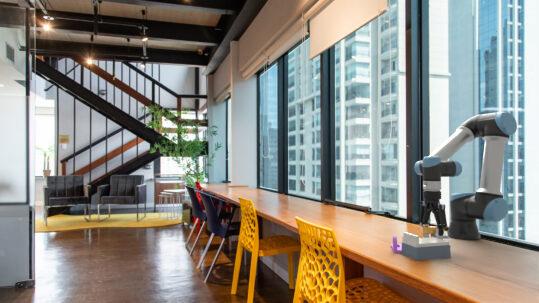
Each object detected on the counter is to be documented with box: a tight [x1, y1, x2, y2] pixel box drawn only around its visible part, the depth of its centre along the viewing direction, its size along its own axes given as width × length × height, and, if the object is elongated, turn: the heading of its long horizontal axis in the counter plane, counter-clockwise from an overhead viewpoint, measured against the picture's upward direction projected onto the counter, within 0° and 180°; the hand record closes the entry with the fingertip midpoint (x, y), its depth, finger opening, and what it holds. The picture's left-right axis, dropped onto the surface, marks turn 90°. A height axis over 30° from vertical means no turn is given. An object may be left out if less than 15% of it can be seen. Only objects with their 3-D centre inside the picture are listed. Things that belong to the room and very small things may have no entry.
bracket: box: [390, 235, 402, 254], centre depth 159 cm, size 13×6×7 cm, turn 168°
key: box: [421, 225, 450, 240], centre depth 159 cm, size 3×11×9 cm, turn 77°
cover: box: [401, 231, 450, 248], centre depth 148 cm, size 16×9×4 cm, turn 105°
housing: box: [401, 242, 452, 262], centre depth 152 cm, size 22×17×5 cm
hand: (432, 240), depth 159 cm, fingers open, 8 cm apart
